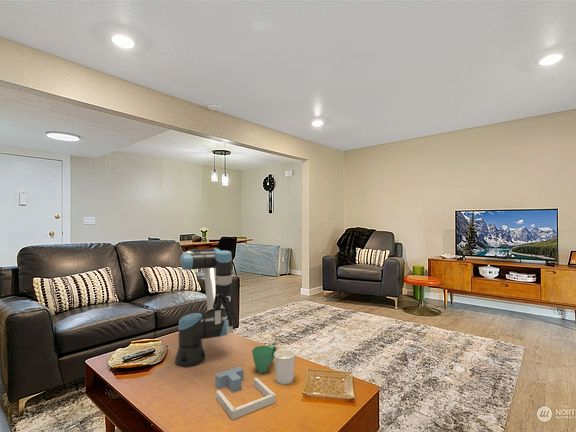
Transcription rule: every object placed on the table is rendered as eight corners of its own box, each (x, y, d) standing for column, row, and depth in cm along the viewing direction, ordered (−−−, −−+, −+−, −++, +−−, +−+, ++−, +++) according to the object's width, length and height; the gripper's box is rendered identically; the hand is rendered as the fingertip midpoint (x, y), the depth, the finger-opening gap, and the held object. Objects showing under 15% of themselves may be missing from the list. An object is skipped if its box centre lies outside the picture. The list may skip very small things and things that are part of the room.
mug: (263, 377, 143) (263, 356, 143) (248, 371, 148) (248, 351, 148) (282, 365, 155) (282, 345, 155) (267, 360, 160) (267, 341, 160)
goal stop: (216, 398, 127) (216, 391, 127) (256, 384, 137) (256, 377, 137) (232, 420, 113) (232, 411, 113) (275, 402, 124) (275, 394, 124)
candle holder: (298, 376, 144) (298, 351, 144) (289, 387, 135) (289, 360, 135) (279, 372, 148) (279, 347, 148) (270, 382, 139) (270, 356, 139)
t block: (215, 385, 137) (215, 373, 137) (239, 377, 144) (239, 366, 144) (224, 395, 129) (224, 383, 129) (249, 386, 135) (249, 375, 135)
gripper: (206, 279, 153) (206, 321, 153) (227, 290, 132) (227, 339, 133) (220, 277, 157) (220, 318, 157) (242, 288, 137) (242, 335, 137)
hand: (223, 328), depth 145 cm, fingers open, 13 cm apart
